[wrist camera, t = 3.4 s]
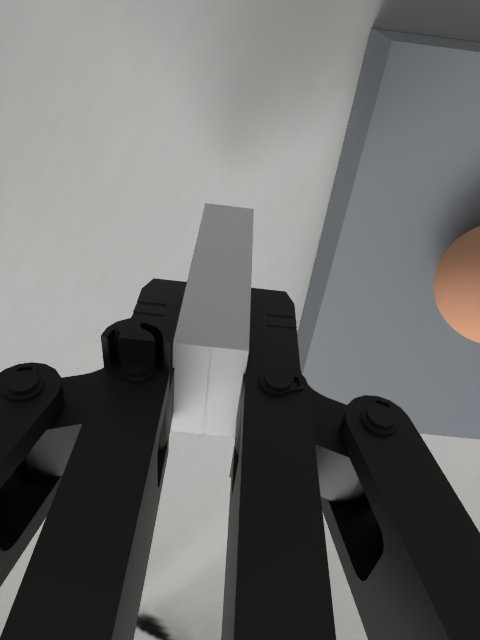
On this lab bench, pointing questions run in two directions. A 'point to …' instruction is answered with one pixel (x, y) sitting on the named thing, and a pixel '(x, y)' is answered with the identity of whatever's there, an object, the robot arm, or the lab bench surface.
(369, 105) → the grey flat block
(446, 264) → the ball
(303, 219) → the lab bench surface
